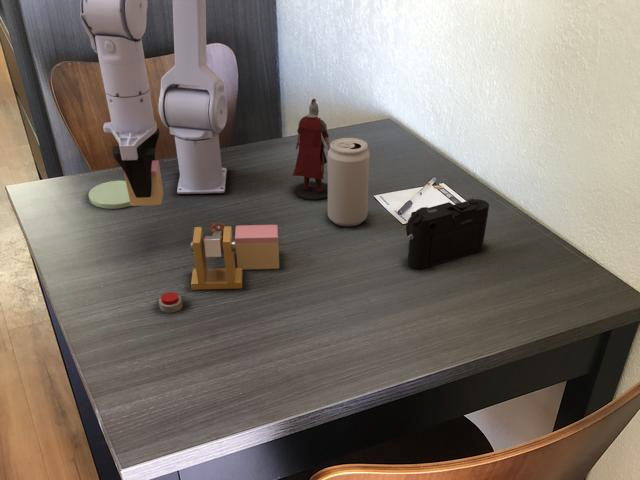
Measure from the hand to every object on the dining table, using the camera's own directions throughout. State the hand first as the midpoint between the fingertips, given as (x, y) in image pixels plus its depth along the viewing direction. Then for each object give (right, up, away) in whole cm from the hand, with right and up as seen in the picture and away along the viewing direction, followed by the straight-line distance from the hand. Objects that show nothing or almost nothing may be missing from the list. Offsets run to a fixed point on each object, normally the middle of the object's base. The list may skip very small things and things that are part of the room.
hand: (145, 189), depth 106 cm
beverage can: (+29, -1, +12) cm, 32 cm away
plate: (-9, +5, +17) cm, 20 cm away
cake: (+16, -10, +2) cm, 19 cm away
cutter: (+11, -9, -1) cm, 14 cm away
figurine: (+24, +6, +19) cm, 31 cm away
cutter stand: (+11, -14, -2) cm, 18 cm away
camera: (+43, -8, +5) cm, 44 cm away
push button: (+5, -18, -7) cm, 20 cm away
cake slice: (0, -1, +1) cm, 2 cm away
